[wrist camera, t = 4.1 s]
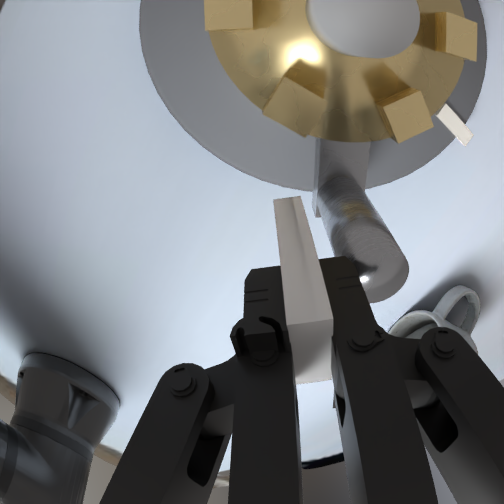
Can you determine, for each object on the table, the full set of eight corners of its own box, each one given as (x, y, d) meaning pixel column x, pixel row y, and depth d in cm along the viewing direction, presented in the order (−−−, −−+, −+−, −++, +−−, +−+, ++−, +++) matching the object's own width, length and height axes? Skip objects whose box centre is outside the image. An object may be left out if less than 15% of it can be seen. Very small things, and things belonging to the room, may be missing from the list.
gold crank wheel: (212, -76, 9) (175, -161, 2) (433, -48, 9) (535, -77, 2) (224, 197, 18) (203, 306, 11) (417, 199, 18) (489, 293, 11)
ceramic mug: (420, 360, 31) (440, 416, 25) (370, 345, 29) (389, 412, 23) (486, 294, 26) (521, 350, 19) (443, 266, 24) (485, 332, 17)
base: (143, 167, 19) (97, 224, 13) (171, -117, 8) (136, -169, 2) (435, 203, 20) (486, 263, 14) (481, -47, 9) (549, -57, 3)
